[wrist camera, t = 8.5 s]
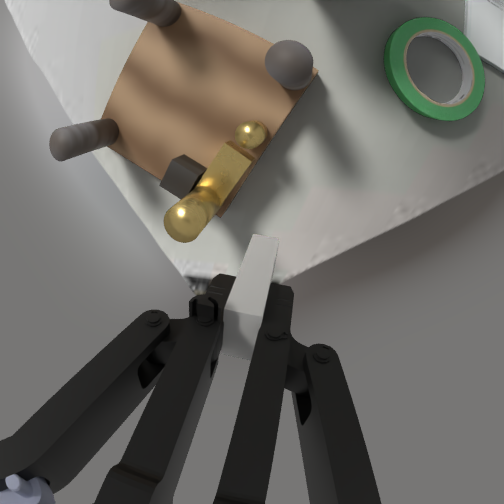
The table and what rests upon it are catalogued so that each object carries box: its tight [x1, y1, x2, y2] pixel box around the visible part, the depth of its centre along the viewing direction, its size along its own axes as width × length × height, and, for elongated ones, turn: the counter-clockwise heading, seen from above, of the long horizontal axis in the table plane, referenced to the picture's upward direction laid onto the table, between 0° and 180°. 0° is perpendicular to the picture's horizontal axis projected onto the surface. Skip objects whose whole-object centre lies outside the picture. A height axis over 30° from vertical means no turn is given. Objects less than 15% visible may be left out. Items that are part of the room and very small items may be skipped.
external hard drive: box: [464, 0, 504, 73], centre depth 16 cm, size 2×8×12 cm
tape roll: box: [384, 17, 485, 121], centre depth 21 cm, size 11×11×3 cm
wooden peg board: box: [50, 0, 318, 218], centre depth 24 cm, size 18×18×10 cm
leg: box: [164, 120, 268, 243], centre depth 25 cm, size 11×3×8 cm, turn 145°
